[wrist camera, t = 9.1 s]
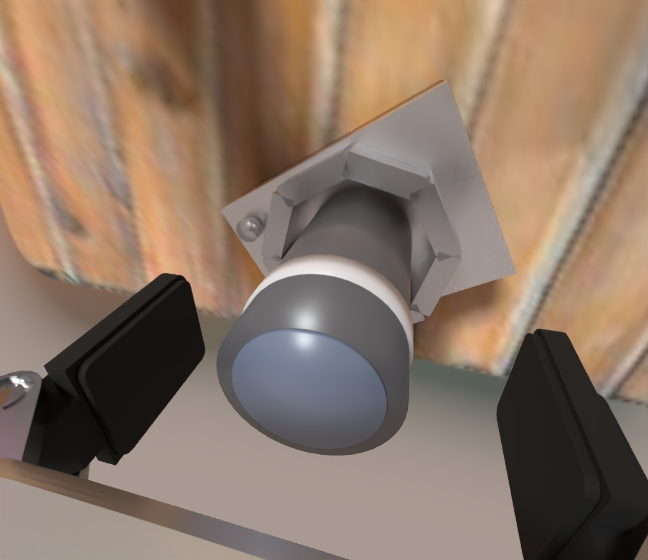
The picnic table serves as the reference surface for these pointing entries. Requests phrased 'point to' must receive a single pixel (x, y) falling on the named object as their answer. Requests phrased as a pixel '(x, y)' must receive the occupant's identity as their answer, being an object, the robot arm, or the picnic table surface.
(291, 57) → the picnic table surface
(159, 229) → the picnic table surface
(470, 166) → the octagonal metal flange
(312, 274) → the flashlight
